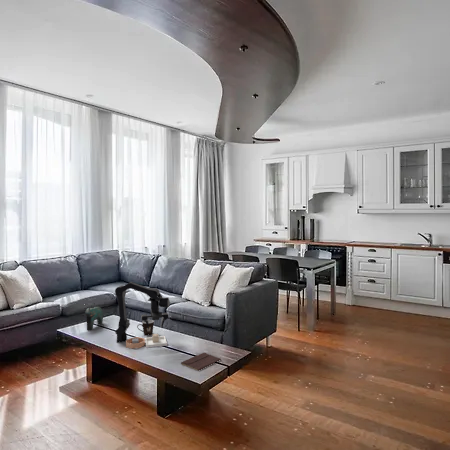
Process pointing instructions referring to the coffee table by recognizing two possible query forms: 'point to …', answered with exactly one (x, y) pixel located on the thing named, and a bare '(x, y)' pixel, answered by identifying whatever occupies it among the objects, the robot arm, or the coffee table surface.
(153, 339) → the taupe block
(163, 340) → the tray
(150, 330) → the coffee mug
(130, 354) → the coffee table surface
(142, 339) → the terracotta bowl
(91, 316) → the green animal figure
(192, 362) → the notebook
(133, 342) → the grey block
